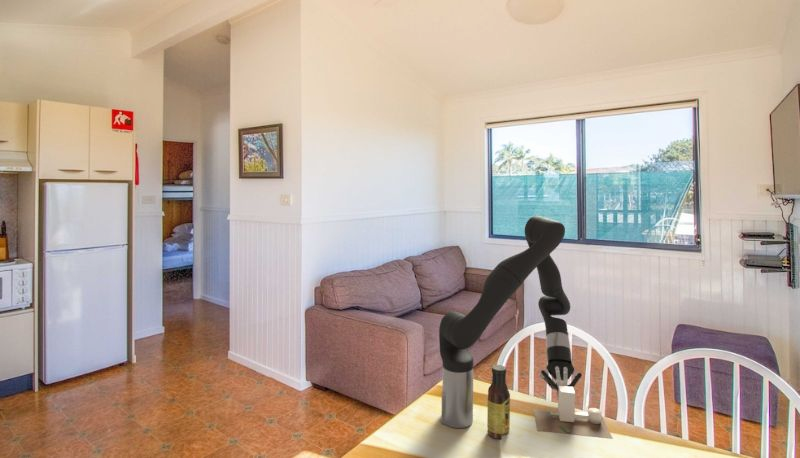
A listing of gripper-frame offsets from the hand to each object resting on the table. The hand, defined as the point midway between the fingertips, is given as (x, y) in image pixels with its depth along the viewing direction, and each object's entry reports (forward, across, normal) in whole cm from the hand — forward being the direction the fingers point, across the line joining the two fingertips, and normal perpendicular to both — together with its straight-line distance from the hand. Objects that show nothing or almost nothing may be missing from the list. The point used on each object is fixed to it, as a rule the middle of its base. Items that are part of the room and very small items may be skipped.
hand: (563, 402), depth 134 cm
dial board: (+7, +1, -1) cm, 8 cm away
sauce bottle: (+12, -20, -6) cm, 24 cm away
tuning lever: (+5, +3, -1) cm, 6 cm away
